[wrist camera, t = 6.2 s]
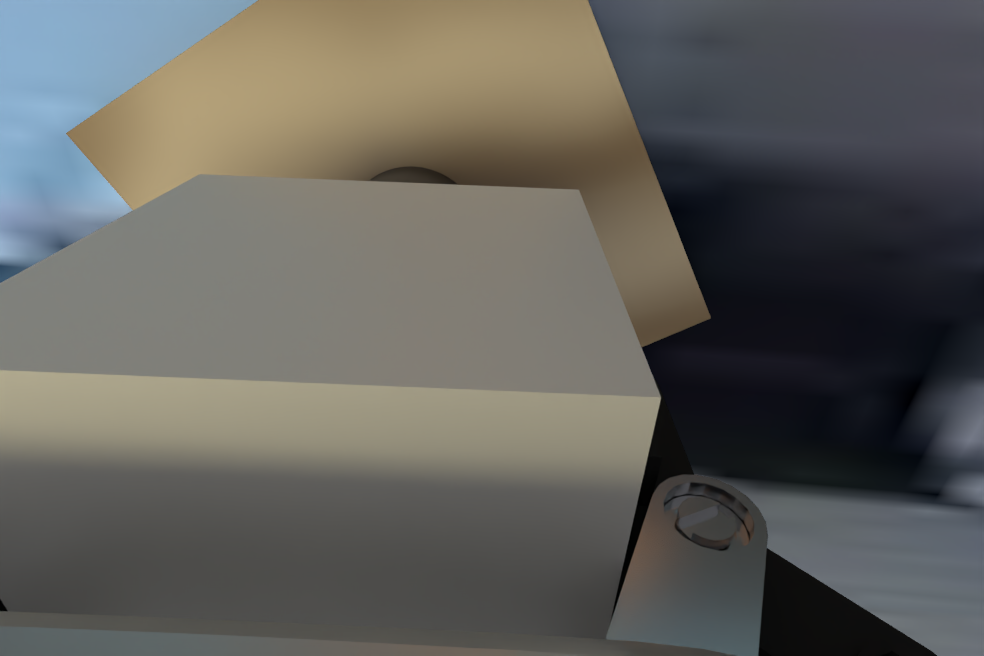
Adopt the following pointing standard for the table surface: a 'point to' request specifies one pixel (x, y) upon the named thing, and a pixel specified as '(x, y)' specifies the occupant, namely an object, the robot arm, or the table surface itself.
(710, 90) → the table surface
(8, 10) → the table surface
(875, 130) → the table surface
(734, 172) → the table surface
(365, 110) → the post stand
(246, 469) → the cream rectangular prism
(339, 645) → the robot arm
